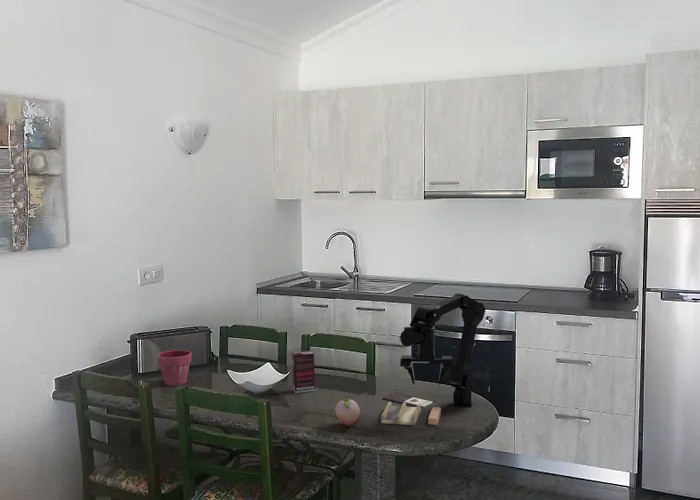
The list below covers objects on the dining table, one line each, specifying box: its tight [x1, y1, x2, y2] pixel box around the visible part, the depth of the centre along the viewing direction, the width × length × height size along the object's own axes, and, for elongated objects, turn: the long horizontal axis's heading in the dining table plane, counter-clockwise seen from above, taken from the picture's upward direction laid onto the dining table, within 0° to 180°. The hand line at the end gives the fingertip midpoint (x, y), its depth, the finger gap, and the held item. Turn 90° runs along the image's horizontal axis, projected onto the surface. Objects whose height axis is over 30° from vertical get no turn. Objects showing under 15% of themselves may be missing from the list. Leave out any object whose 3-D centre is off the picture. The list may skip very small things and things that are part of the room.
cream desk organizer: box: [380, 401, 422, 426], centre depth 244 cm, size 12×16×2 cm
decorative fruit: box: [334, 397, 361, 426], centre depth 236 cm, size 9×8×10 cm
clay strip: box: [427, 406, 442, 426], centre depth 241 cm, size 3×12×2 cm, turn 166°
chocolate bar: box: [382, 392, 436, 409], centre depth 261 cm, size 9×1×18 cm
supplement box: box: [291, 350, 316, 394], centre depth 276 cm, size 9×5×16 cm, turn 106°
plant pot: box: [156, 349, 193, 386], centre depth 290 cm, size 14×14×13 cm
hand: (426, 384), depth 244 cm, fingers open, 9 cm apart
